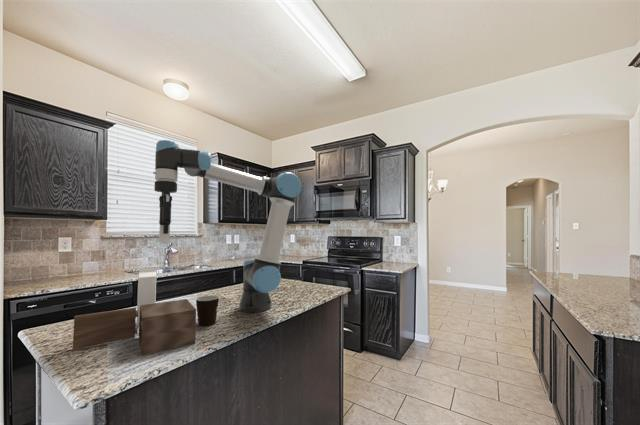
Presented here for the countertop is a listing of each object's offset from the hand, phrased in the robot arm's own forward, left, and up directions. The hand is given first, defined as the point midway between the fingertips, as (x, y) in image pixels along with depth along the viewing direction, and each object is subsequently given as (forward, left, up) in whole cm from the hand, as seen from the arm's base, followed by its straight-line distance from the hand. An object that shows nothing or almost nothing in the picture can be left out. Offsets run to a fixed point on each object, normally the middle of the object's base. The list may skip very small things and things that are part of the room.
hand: (164, 242), depth 102 cm
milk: (+4, -14, -33) cm, 36 cm away
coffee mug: (-17, 0, -33) cm, 37 cm away
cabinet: (0, +10, -33) cm, 34 cm away
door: (+16, +1, -32) cm, 36 cm away
